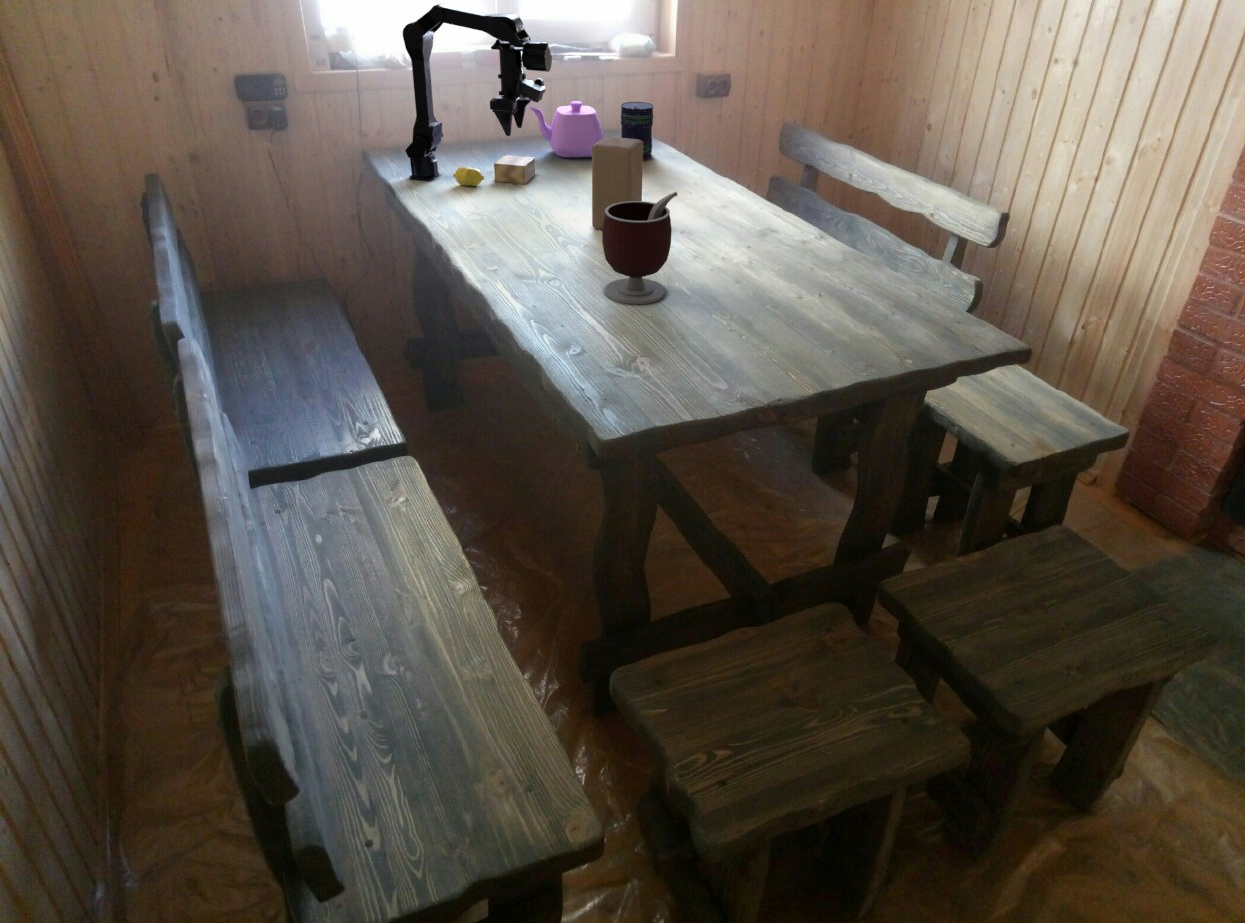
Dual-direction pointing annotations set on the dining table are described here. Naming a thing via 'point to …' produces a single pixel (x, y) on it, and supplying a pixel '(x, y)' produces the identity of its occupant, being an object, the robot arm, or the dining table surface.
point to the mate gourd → (637, 248)
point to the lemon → (468, 176)
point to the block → (615, 174)
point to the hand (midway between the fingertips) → (514, 131)
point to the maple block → (514, 169)
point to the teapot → (572, 130)
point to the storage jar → (638, 124)
